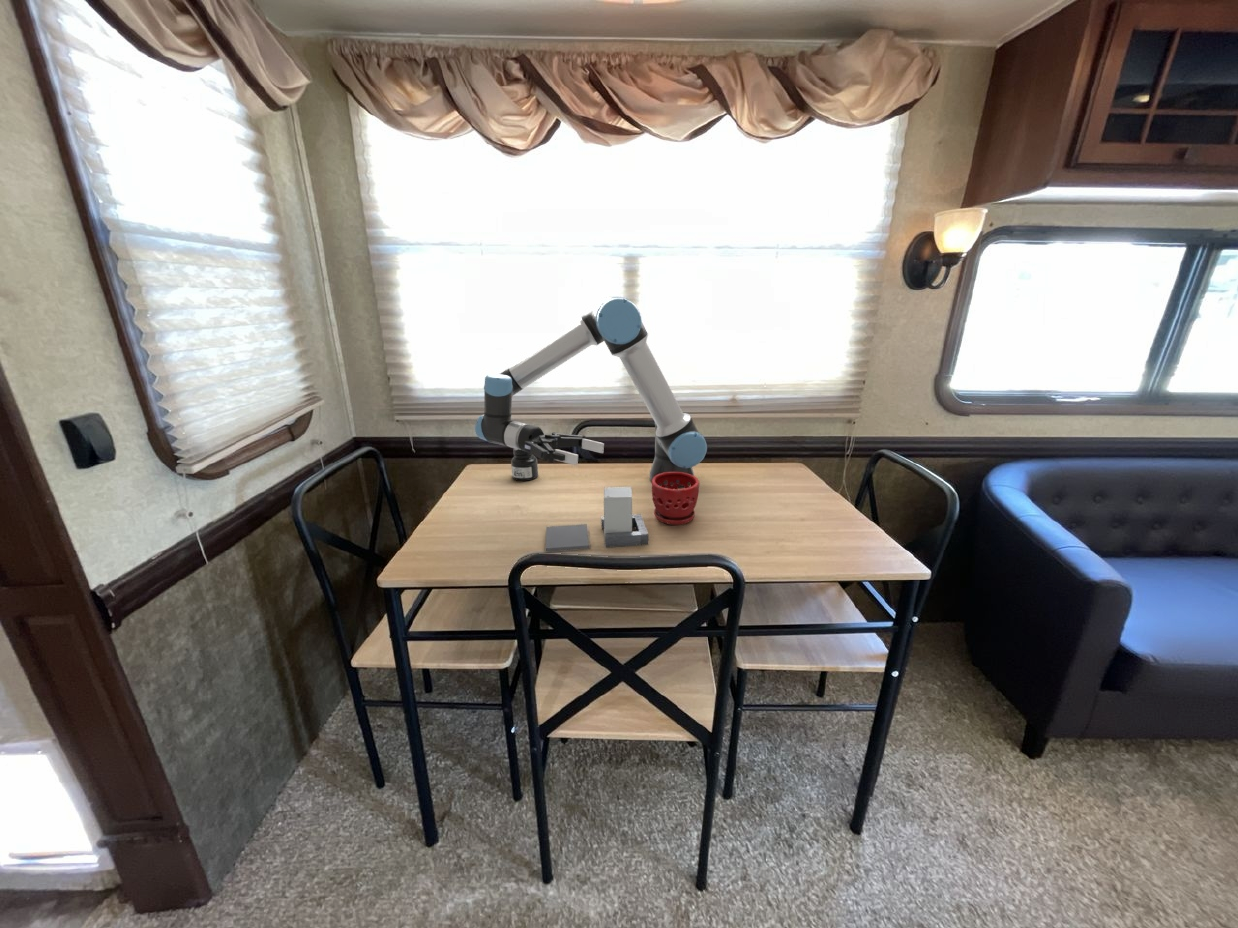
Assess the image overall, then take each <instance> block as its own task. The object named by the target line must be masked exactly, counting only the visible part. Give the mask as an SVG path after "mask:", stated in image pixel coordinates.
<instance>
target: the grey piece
mask: <svg viewBox="0 0 1238 928" xmlns="http://www.w3.org/2000/svg"><path fill="white" fill-rule="evenodd" d="M600 517H601V518H600V521H601V522H600V524H601V527H600V528H601V530H603V531H604V515H603V516H602V515H601V516H600ZM633 528H634V529H635V531H632V532H619V533H605V541H604V546H605V548H606V549H607V548H620V547H622V548H624V547H634V546H636V547H637V546H649V532H648V530H647V526H646V524H645V522H644V518H643V516H642V514H641V513H636V514H635V513H634V514H632V529H633Z"/></svg>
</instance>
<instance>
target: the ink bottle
mask: <svg viewBox="0 0 1238 928" xmlns="http://www.w3.org/2000/svg"><path fill="white" fill-rule="evenodd" d="M512 450H513V451H512V452H513V457H512V458H511V460H510V464H511V474H512V475H511V476H512V479H513V480H514V481H515V480H516V481H520V482H527V481H532V480H534V479H536V478H538V476H539V466H538V457H536V456H535V455H533V454H532V453H529V452H526V451H522V450H519V449H518V450H515V449H514V448H512Z"/></svg>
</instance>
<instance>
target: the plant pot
mask: <svg viewBox="0 0 1238 928" xmlns="http://www.w3.org/2000/svg"><path fill="white" fill-rule="evenodd" d="M676 480H679V483H677V482H676ZM664 481H667V484H666V485H664ZM688 482H689V483H690V484H689V485H688ZM670 483H673V485H670ZM658 484H661V486H659V485H658ZM679 485H683V486H682V487H684V488H679V487H678V486H679ZM699 493H700V480H699V479H698V478H697V476H695V475H694V476H693V475H691V474H688V473H684V472H665V473H661V474H658V475H656V476H655V477H654V478H653V479H652V482H651V498H652V501H653V505H654V510H653V514H654V516H655V518H656V519H657V520H658V521H659V522H662V523H664V524H667V525H673V526H675V525H677V526H679V525H685V524H688V523H690V522H691V521H692V520H694V518H695V516H696V512H695V510H694V509H695V507H696V505H697V502H698V497H699Z"/></svg>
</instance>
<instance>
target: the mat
mask: <svg viewBox="0 0 1238 928" xmlns="http://www.w3.org/2000/svg"><path fill="white" fill-rule="evenodd" d="M545 528H546V529H545V531H546V532H545V552H546V553H549V552H550V553H551V552H563V551H564V550H566V551H575V550H576V551H577V550H590V549H591V545H590V538H589V531H588V529H589V528H588V524H586V523H584V524H582V523H581V524H570V525H569V524H567V525H554V526H552V525H551V526H546V527H545Z"/></svg>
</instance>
